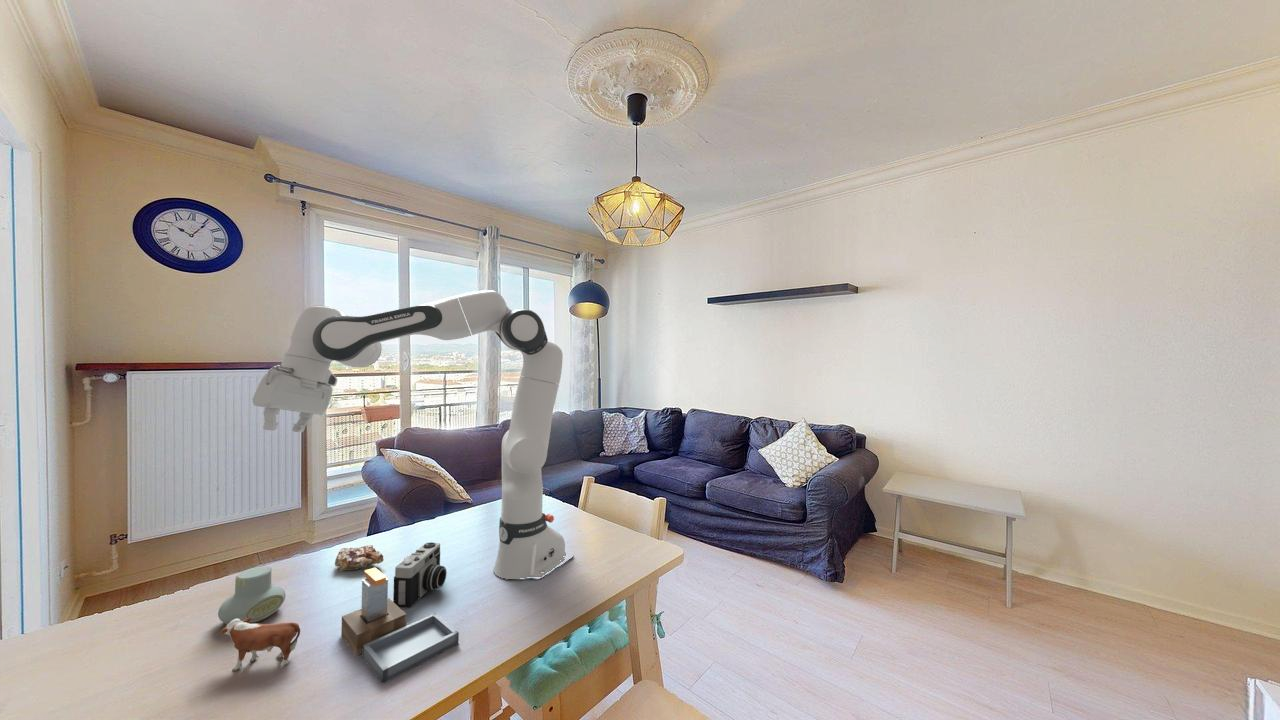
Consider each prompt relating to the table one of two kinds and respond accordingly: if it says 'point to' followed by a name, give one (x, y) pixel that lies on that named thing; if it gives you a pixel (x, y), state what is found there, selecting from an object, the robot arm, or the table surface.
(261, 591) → the air freshener
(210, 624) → the table surface
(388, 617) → the hitch block
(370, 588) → the orange-topped grey block
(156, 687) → the table surface
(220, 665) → the table surface
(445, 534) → the table surface
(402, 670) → the tray
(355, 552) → the mineral specimen
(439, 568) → the camera
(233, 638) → the bull figurine
